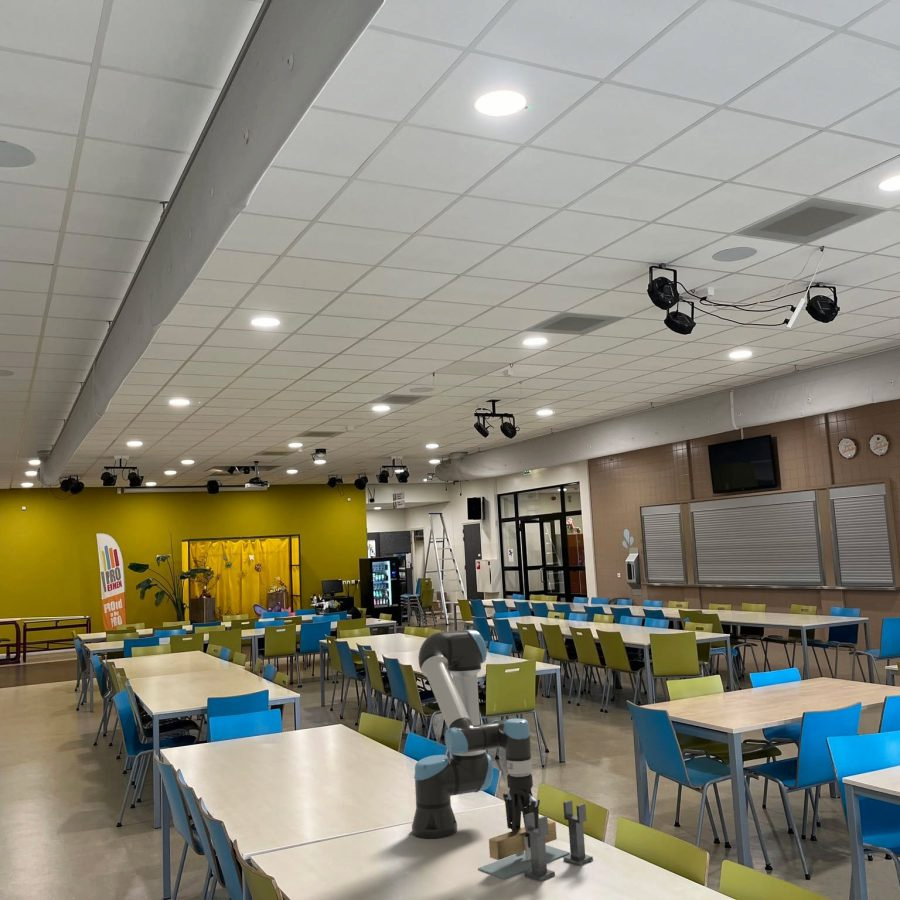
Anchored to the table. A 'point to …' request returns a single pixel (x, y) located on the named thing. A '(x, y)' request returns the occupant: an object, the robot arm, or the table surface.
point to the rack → (538, 834)
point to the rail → (515, 842)
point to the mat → (519, 863)
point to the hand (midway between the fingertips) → (524, 856)
